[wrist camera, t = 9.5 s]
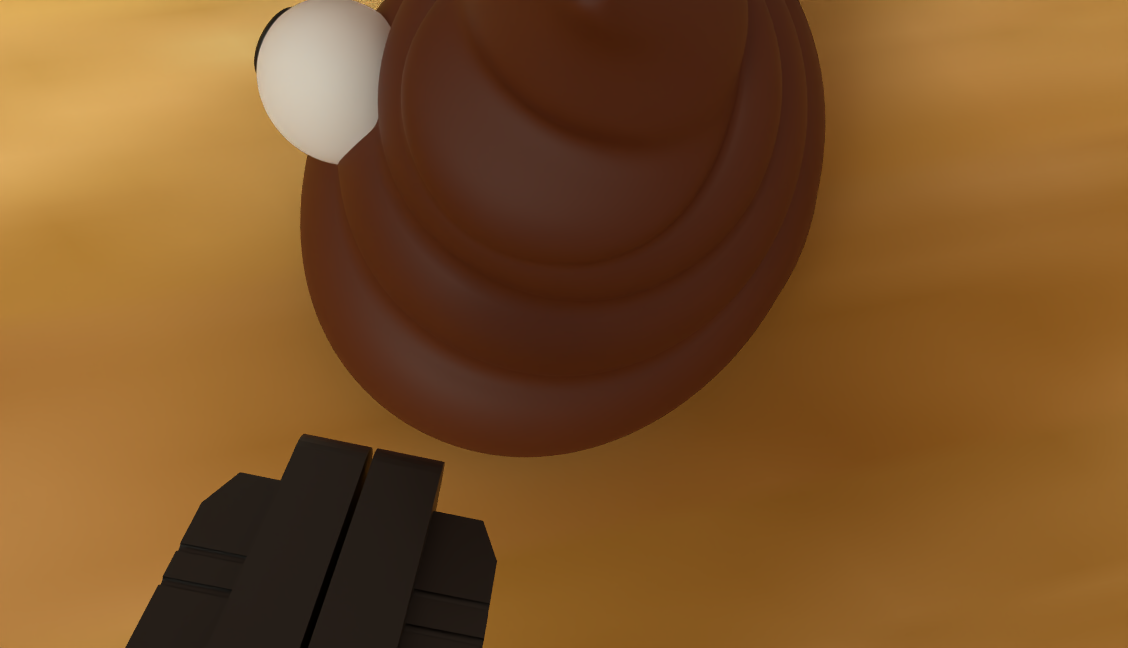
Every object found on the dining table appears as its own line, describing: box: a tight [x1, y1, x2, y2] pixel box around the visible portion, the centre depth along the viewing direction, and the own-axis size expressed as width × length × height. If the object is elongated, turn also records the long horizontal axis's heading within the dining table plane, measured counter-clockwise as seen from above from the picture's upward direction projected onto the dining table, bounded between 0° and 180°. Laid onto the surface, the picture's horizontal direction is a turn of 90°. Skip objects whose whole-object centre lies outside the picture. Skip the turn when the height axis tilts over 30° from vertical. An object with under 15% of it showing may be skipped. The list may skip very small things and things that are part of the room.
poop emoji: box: [254, 0, 825, 457], centre depth 15 cm, size 10×8×9 cm
